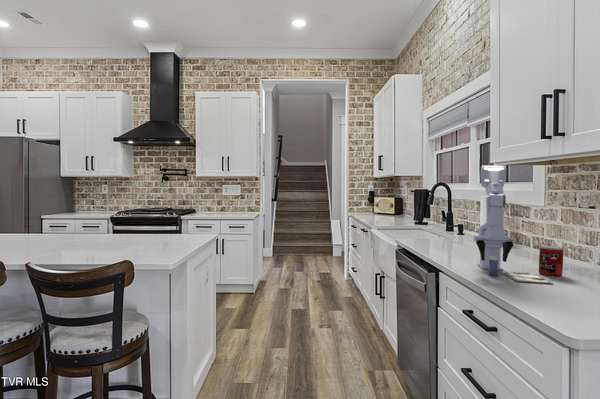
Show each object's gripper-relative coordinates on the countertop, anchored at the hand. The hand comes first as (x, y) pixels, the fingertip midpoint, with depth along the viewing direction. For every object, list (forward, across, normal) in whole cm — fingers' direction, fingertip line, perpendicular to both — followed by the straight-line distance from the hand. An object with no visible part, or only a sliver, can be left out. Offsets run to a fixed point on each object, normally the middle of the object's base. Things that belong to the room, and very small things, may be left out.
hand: (493, 260), depth 151 cm
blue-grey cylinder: (+6, 0, 0) cm, 6 cm away
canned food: (+6, +23, +8) cm, 25 cm away
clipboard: (+6, +11, -3) cm, 13 cm away
